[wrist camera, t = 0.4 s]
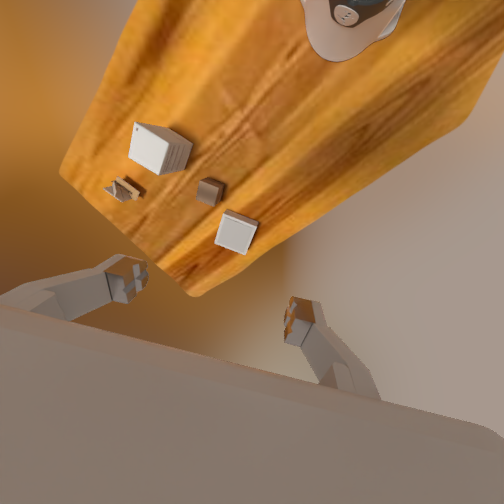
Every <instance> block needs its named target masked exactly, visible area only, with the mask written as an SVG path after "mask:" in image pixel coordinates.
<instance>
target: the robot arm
mask: <svg viewBox="0 0 504 504" xmlns="http://www.w3.org/2000/svg"><path fill="white" fill-rule="evenodd" d="M300 1H301V3H302V5H303V7H304V11H305V22H306V30H307V35H308V38H309V41H310V43H311V45H312V47H313V49H314V50H315V51H316V52H317V53H318V54H319V55H320V56H321V57H322V58H324V59H326V60H329V61H334V62H339V61H345V60H348V59H350V58H352V57H354V56H356V55H358V54H359V53H360V52H362V51H363V50H364V49H365V48H366V47H368V46H369V45H370V44H371V43H373V42H375V41H378V40H381V39H384V38H386V37H388V36H389V35H390V34H391V33H392V32H393V30H394V29H395V27H396V25H397V22H398V19H399V16H400V14H401V11H402V8H403V6H404V3H405V1H406V0H300ZM147 267H148V265H147V262H146V261H145V260H141V259H137V258H134V257H130V256H126V255H122V254H116V255H114V256H113V257H111V258H109V259H108V260H106V261H104V262H103V263H101V264H100V265H98V266H96V267H95V268H93V269H85V270H81V271H77V272H72V273H68V274H63V275H60V276H55V277H51V278H46V279H42V280H38V281H33V282H30V283H25V284H23V285H21V286H19V287H17V288H15V289H13V290H11V291H9V292H7V293H5V294H3V295H1V296H0V504H504V438H502V437H501V436H500V435H498V434H497V433H496V432H494V431H492V430H491V429H489V428H486V427H484V426H481V425H478V424H474V423H471V422H467V421H462V420H458V419H454V418H450V417H446V416H442V415H438V414H434V413H430V412H426V411H422V410H418V409H414V408H410V407H406V406H402V405H398V404H394V403H390V402H386V401H382V400H381V398H380V395H379V393H378V390H377V388H376V385H375V383H374V380H373V378H372V376H371V373H370V371H369V369H368V368H367V367H366V366H365V365H364V364H363V363H362V362H361V361H360V359H359V358H358V357H357V356H356V355H355V354H354V353H353V352H352V351H351V350H350V349H349V347H348V346H347V345H346V344H345V343H344V342H343V341H342V340H341V339H340V338H339V337H338V336H337V334H336V333H335V332H334V331H333V330H332V329H331V328H330V327H327V324H326V321H325V317H324V314H323V310H322V307H321V303H320V302H317V301H312V300H306V299H302V298H298V297H294V296H292V297H291V298H290V301H289V306H288V307H287V309H286V311H285V315H284V325H285V327H286V328H285V330H284V342H285V343H287V344H291V345H294V346H298V347H301V350H302V352H303V354H304V355H305V357H306V359H307V361H308V362H309V364H310V366H311V368H312V369H313V371H314V373H315V374H316V376H317V378H318V380H319V384H315V383H311V382H307V381H303V380H299V379H295V378H291V377H287V376H283V375H280V374H276V373H272V372H267V371H263V370H260V369H256V368H252V367H248V366H244V365H240V364H236V363H232V362H228V361H224V360H220V359H216V358H212V357H208V356H204V355H200V354H196V353H192V352H188V351H184V350H180V349H176V348H172V347H168V346H164V345H161V344H157V343H153V342H148V341H145V340H141V339H137V338H133V337H129V336H125V335H121V334H117V333H113V332H109V331H105V330H101V329H97V328H93V327H89V326H85V325H81V324H77V323H73V322H69V321H71V320H73V319H75V318H77V317H79V316H81V315H83V314H85V313H88V312H90V311H92V310H94V309H96V308H99V307H101V306H103V305H105V304H107V303H109V302H111V301H117V302H122V303H126V304H128V303H129V302H130V301H131V300H132V299H133V298H134V297H135V296H136V295H137V291H140V290H142V289H143V288H144V287H145V286H146V284H147V282H148V279H149V274H148V272H147V271H146V268H147Z"/></svg>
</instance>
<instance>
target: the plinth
mask: <svg viewBox="0 0 504 504" xmlns="http://www.w3.org/2000/svg"><path fill="white" fill-rule="evenodd" d="M257 225H258V222H257V221H255V220H252V219H250V218H247V217H245V216H242V215H240V214H237V213H235V212H232V211H230V210H226V211H225V212H224V213H223V216H222V219H221V222H220V226H219V229H218V232H217V236H216V239H215V244H217V245H220V246H223V247H225V248H228V249H230V250H233V251H235V252H238V253H240V254H243V255H246V252H247V250H248V247H249V245H250V243H251V240H252V238H253V235H254V233H255V230H256V228H257Z"/></svg>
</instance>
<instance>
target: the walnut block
mask: <svg viewBox="0 0 504 504" xmlns="http://www.w3.org/2000/svg"><path fill="white" fill-rule="evenodd" d="M224 186H225V184H223V183H221V182H218V181H216V180H213V179H211V178H208V177H207V178H205V179H202V180H200V181H199V186H198V191H197V196H196V200H199V201H201V202H204V203H206V204H209V205H211V206H215V205H216V204H218V203H219V202H220V200H221V197H222V193H223V190H224Z"/></svg>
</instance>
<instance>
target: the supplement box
mask: <svg viewBox="0 0 504 504" xmlns="http://www.w3.org/2000/svg"><path fill="white" fill-rule="evenodd" d="M192 146H193V143H191V142H190V141H188V140H187V139H185V138H183V137H182V136H180V135H179V134H177V133H176V132H174V131H172V130H171V129H169V128H166V127H161V126H155V125H150V124H144V123H139V122H135V123H134V128H133V133H132V139H131V144H130V150H129V155H128V157H129V158H130V159H132V160H134V161H135V162H137V163H139V164H140V165H142V166H144V167H145V168H147V169H149V170H150V171H152V172H154V173H155V174H157V175H163V174H168V173H172V172H177V171H181V170H184V169H185V166H186V163H187V160H188V158H189V155H190V152H191V149H192Z"/></svg>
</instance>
